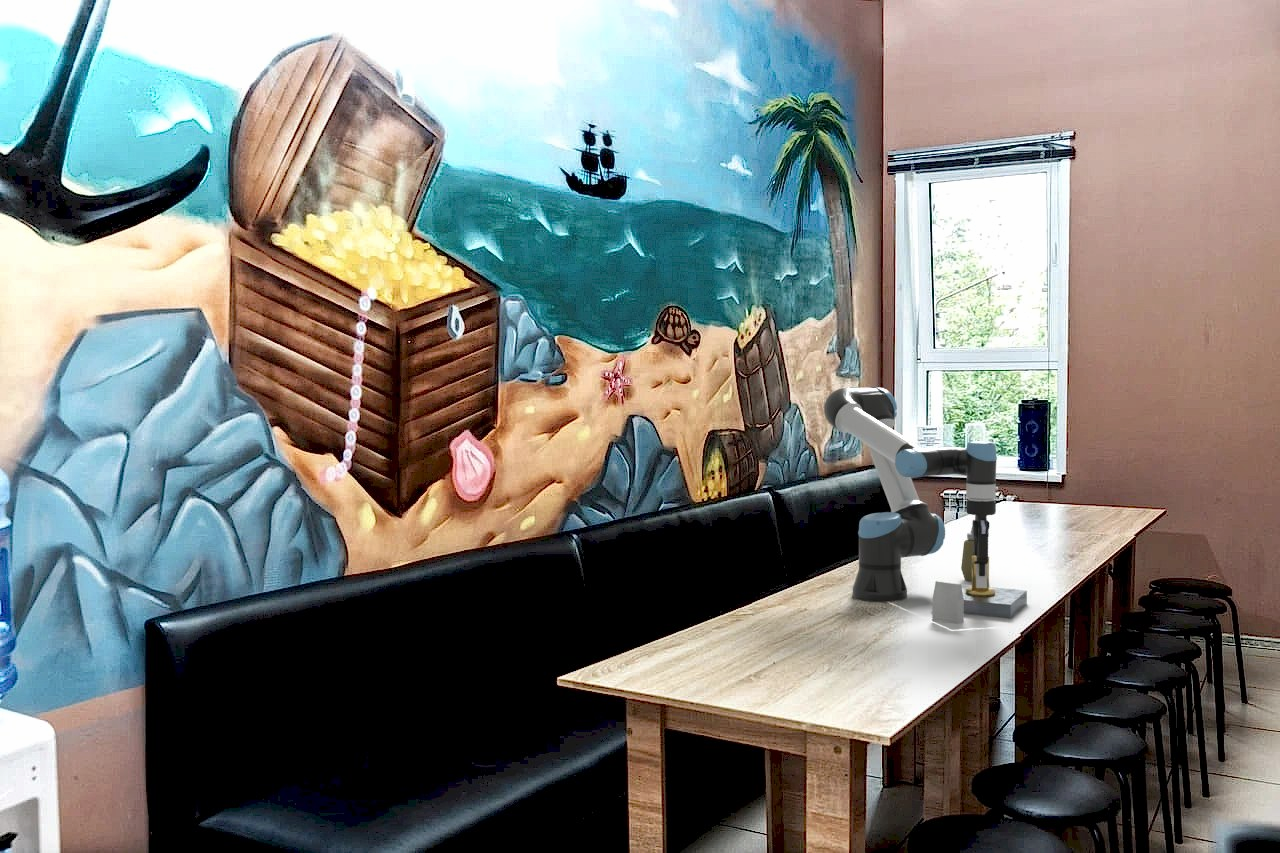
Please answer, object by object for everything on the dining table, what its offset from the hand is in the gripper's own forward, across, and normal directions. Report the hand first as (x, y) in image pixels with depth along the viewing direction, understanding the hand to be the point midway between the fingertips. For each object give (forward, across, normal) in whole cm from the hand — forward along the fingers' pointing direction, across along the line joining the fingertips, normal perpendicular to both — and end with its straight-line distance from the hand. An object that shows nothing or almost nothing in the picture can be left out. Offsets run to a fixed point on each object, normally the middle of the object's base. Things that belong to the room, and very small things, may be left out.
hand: (980, 585), depth 292 cm
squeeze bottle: (+6, +39, -3) cm, 39 cm away
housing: (+6, 0, 0) cm, 6 cm away
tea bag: (+6, -17, +10) cm, 20 cm away
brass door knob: (+6, 0, 0) cm, 6 cm away
